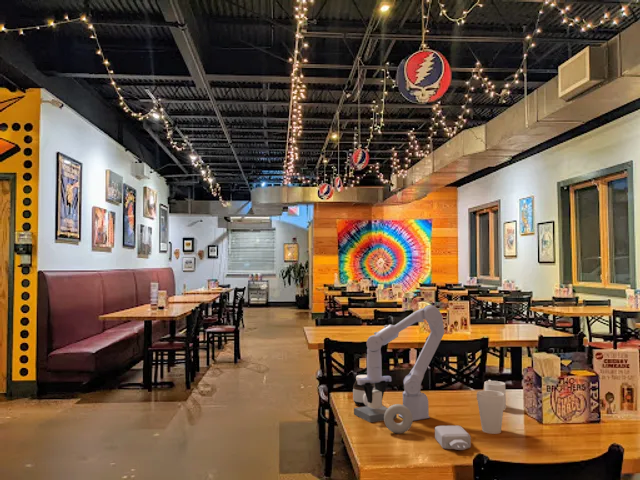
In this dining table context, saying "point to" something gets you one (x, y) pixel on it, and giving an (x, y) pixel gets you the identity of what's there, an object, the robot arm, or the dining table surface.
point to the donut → (393, 425)
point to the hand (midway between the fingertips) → (374, 401)
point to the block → (376, 399)
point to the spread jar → (360, 392)
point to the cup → (496, 388)
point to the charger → (452, 437)
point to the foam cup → (491, 410)
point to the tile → (371, 413)
